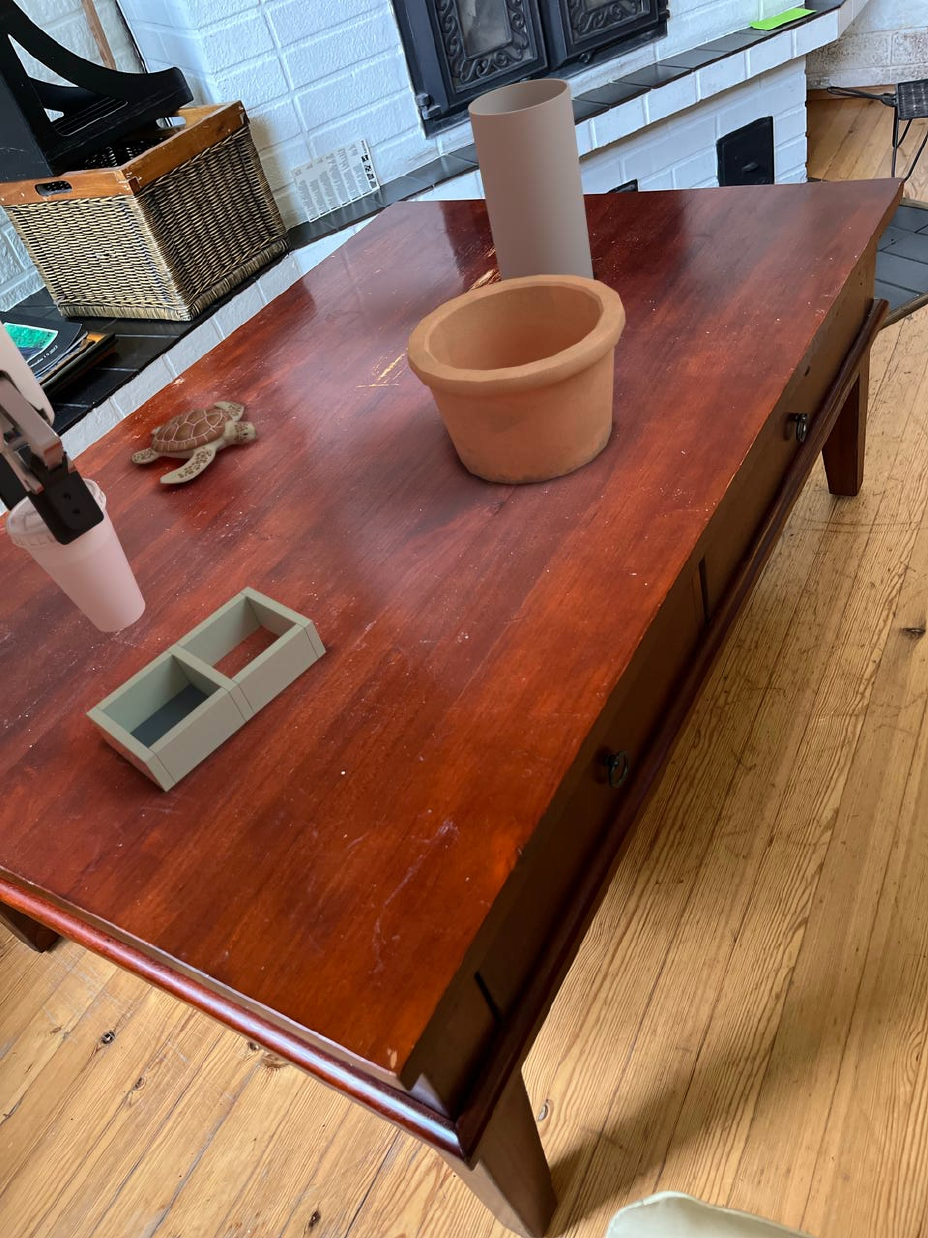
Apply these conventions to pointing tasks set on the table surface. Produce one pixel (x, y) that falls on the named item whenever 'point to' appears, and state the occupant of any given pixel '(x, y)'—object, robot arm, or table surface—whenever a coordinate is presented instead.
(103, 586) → the smoothie
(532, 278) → the pottery
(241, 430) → the decorative turtle
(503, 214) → the cylinder vase
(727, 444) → the table surface
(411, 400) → the table surface
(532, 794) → the table surface
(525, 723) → the table surface
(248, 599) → the divided open box
